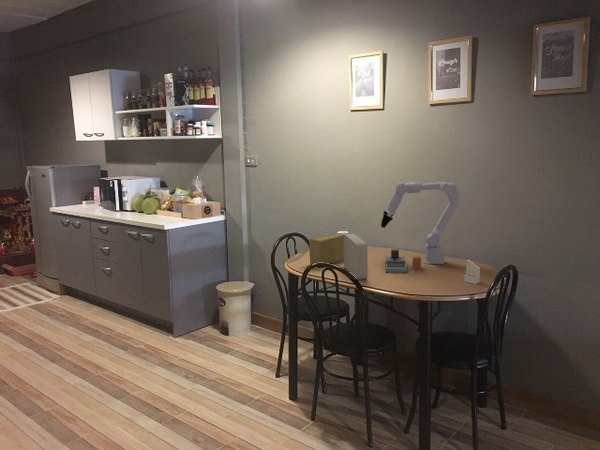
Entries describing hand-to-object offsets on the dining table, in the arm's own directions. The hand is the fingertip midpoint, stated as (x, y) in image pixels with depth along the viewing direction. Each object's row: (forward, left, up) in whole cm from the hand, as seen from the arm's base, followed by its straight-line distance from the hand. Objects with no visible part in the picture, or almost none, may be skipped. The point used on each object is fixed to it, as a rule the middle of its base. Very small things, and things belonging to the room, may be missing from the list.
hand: (382, 225), depth 276 cm
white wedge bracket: (-42, +38, -20) cm, 60 cm away
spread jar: (+23, -21, -20) cm, 37 cm away
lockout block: (-18, +15, -20) cm, 30 cm away
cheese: (+28, +7, -20) cm, 35 cm away
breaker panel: (-7, +8, -20) cm, 22 cm away
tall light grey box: (+13, +27, -20) cm, 36 cm away
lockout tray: (-7, +19, -20) cm, 29 cm away
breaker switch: (-7, +5, -16) cm, 18 cm away
